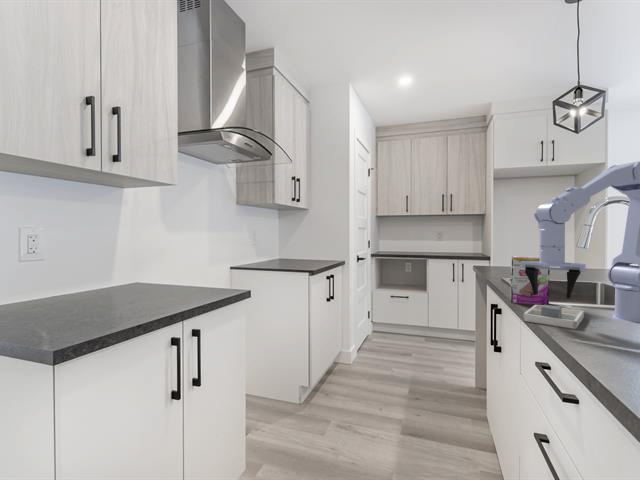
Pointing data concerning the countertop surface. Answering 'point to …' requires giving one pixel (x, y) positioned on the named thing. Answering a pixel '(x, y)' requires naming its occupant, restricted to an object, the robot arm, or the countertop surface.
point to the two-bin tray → (568, 318)
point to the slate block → (551, 311)
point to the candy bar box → (528, 283)
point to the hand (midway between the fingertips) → (551, 295)
